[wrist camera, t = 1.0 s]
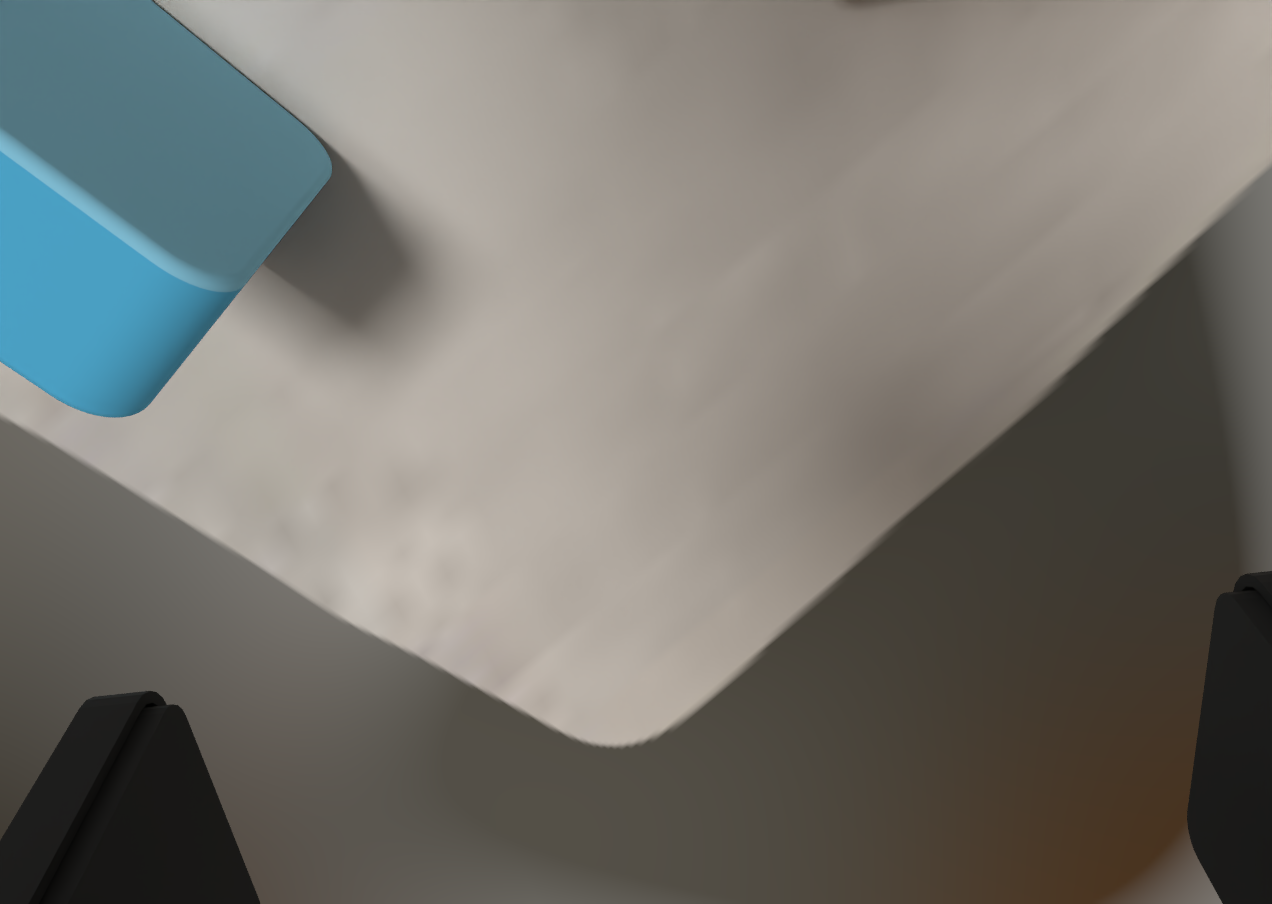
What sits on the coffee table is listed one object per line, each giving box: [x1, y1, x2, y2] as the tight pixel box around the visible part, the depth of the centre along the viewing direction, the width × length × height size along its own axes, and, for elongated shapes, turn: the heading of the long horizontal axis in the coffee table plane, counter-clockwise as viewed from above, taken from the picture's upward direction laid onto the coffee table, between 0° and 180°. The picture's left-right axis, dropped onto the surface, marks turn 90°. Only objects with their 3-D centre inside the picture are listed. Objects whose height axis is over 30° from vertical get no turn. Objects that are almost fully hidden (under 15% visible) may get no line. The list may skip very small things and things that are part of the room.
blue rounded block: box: [0, 0, 332, 417], centre depth 29 cm, size 12×4×12 cm, turn 48°
